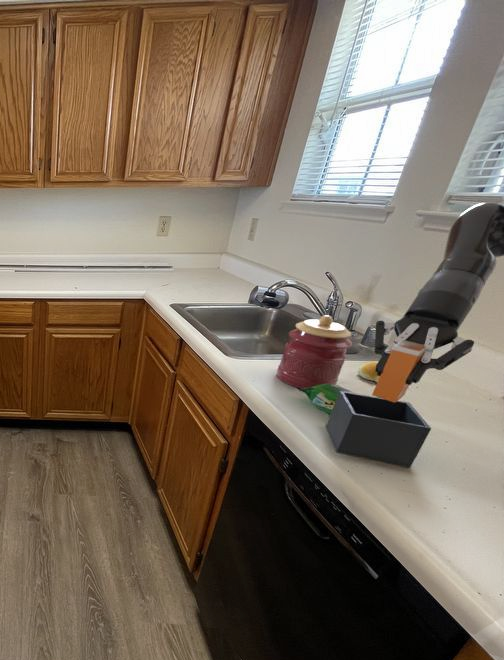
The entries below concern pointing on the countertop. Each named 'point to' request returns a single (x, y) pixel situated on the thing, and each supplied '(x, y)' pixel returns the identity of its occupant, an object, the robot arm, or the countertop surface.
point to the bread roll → (369, 371)
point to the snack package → (324, 395)
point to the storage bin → (376, 429)
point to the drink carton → (398, 370)
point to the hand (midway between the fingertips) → (393, 377)
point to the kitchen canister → (314, 353)
